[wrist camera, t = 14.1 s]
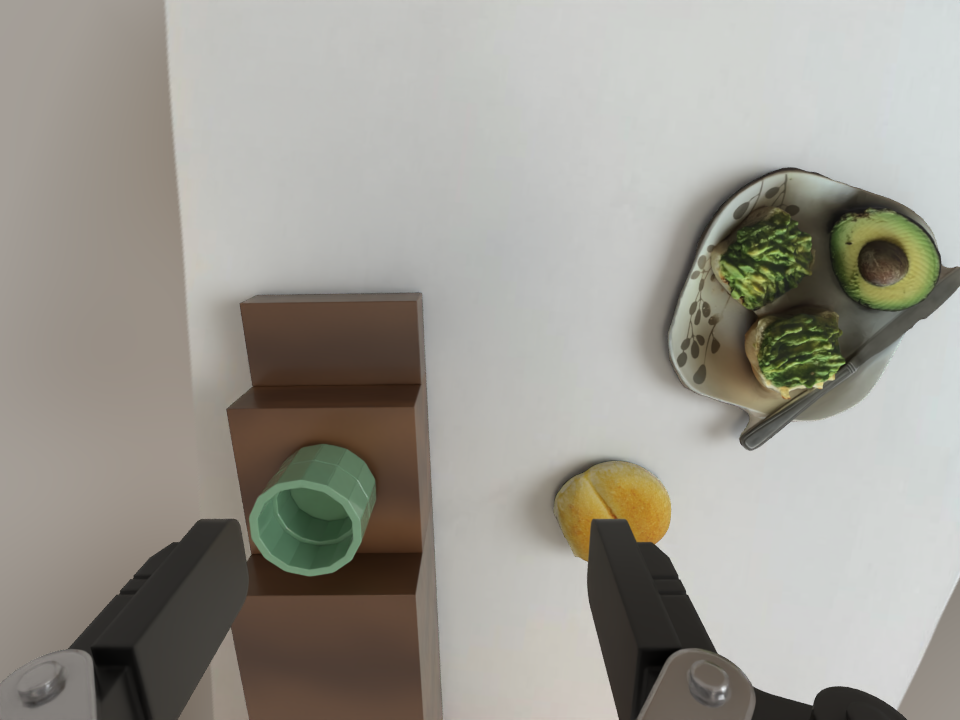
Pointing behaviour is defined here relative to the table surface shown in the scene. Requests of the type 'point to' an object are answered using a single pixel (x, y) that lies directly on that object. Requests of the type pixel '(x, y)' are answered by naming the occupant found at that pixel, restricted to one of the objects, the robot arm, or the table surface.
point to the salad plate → (802, 298)
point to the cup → (314, 510)
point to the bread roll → (612, 503)
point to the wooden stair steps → (392, 525)
